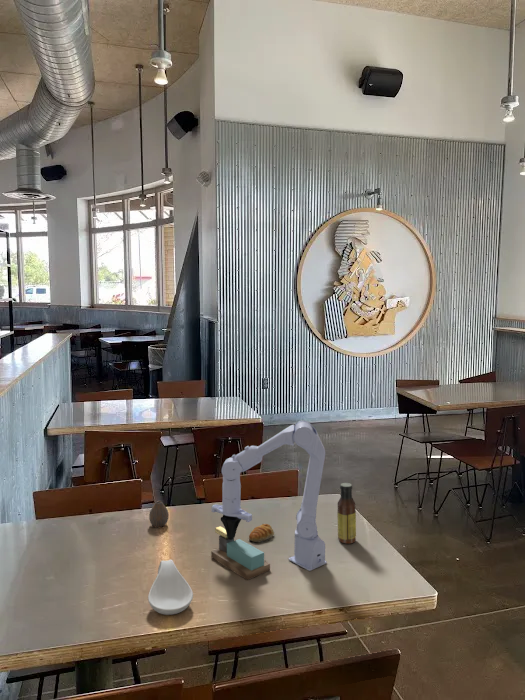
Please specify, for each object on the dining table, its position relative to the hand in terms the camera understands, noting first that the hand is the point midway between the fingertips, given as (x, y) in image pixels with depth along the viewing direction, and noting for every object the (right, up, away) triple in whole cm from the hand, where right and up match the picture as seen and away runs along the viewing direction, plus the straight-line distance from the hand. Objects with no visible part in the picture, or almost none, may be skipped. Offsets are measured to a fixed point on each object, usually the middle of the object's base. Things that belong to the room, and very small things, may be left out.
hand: (231, 538), depth 166 cm
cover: (+5, -5, -5) cm, 8 cm away
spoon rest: (-16, -9, -21) cm, 28 cm away
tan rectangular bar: (-3, 0, +3) cm, 4 cm away
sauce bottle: (+39, -6, +14) cm, 42 cm away
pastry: (+10, -6, +16) cm, 20 cm away
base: (+3, -7, -3) cm, 8 cm away
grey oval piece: (-28, -4, +25) cm, 38 cm away
